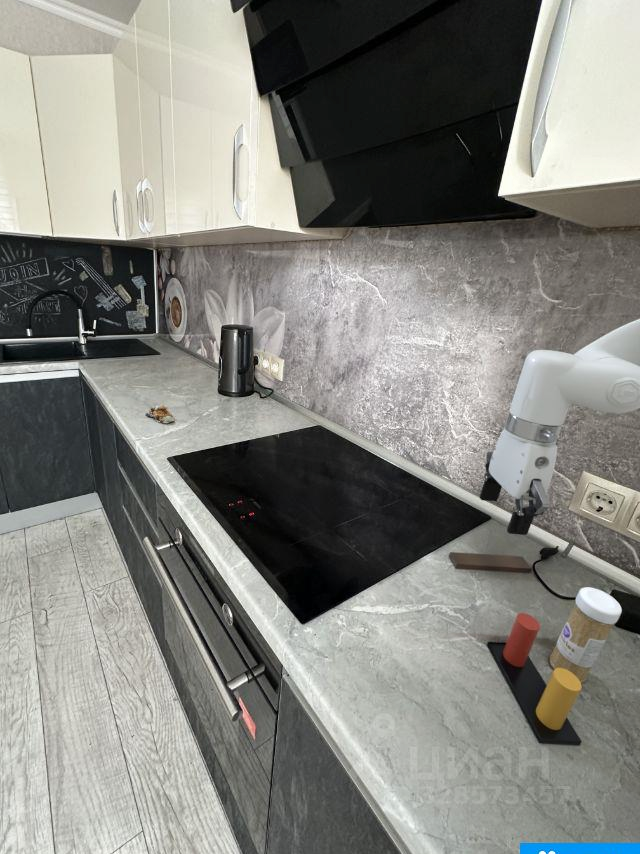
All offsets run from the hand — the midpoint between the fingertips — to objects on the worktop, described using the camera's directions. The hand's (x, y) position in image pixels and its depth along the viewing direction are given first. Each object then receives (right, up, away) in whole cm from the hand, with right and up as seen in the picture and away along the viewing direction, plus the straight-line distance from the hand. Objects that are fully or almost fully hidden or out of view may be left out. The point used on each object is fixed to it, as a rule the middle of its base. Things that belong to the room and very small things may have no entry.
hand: (501, 515), depth 69 cm
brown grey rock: (-80, +17, +65) cm, 105 cm away
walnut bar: (0, -12, +4) cm, 13 cm away
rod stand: (-6, -20, -16) cm, 26 cm away
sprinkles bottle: (+2, -19, -13) cm, 23 cm away
